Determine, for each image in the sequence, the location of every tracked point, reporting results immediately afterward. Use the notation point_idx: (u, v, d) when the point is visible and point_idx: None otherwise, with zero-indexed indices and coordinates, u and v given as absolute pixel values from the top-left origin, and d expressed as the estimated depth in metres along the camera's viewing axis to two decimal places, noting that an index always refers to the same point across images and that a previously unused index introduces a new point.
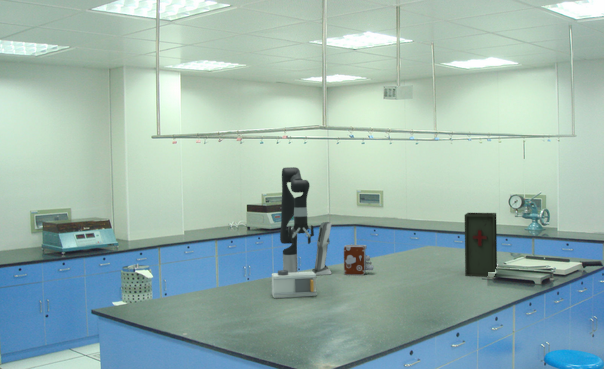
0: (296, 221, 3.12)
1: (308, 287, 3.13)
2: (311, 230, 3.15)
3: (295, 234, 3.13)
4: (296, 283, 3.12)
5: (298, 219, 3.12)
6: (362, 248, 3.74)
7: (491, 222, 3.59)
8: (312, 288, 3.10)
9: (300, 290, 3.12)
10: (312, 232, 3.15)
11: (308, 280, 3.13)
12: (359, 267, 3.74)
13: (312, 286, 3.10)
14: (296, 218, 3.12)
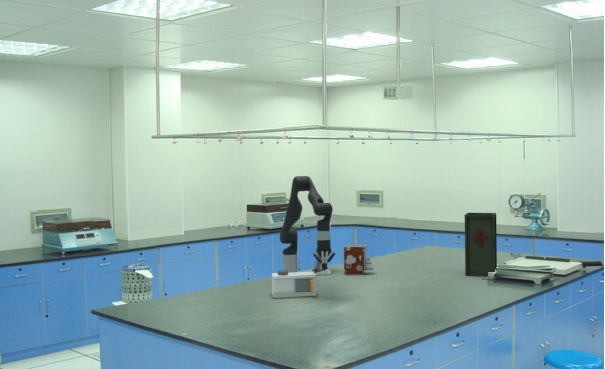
0: (319, 245, 3.08)
1: (308, 287, 3.13)
2: (331, 256, 3.11)
3: (323, 259, 3.10)
4: (296, 283, 3.12)
5: (321, 242, 3.08)
6: (362, 248, 3.74)
7: (491, 222, 3.59)
8: (312, 288, 3.10)
9: (300, 290, 3.12)
10: (330, 258, 3.11)
11: (308, 280, 3.13)
12: (359, 267, 3.74)
13: (312, 286, 3.10)
14: (319, 242, 3.08)
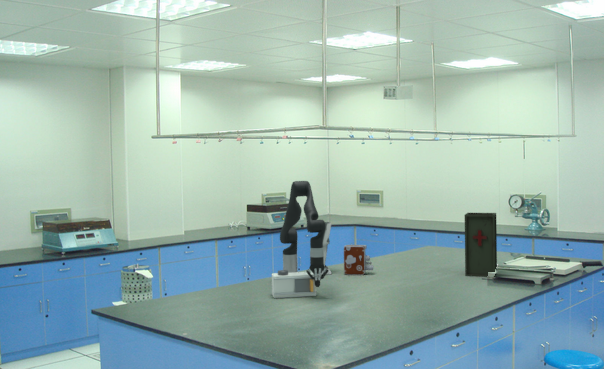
0: (312, 262, 3.08)
1: (308, 287, 3.13)
2: (324, 273, 3.10)
3: (316, 276, 3.09)
4: (296, 283, 3.12)
5: (314, 259, 3.07)
6: (362, 248, 3.74)
7: (491, 222, 3.59)
8: (312, 288, 3.10)
9: (300, 290, 3.12)
10: (323, 275, 3.10)
11: (308, 280, 3.13)
12: (359, 267, 3.74)
13: (312, 286, 3.09)
14: (312, 259, 3.08)
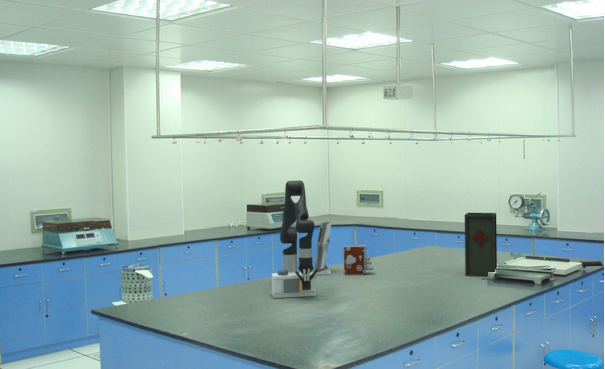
0: (301, 262, 3.07)
1: (297, 288, 3.12)
2: (313, 274, 3.09)
3: (305, 276, 3.08)
4: (284, 284, 3.11)
5: (303, 260, 3.06)
6: (362, 248, 3.74)
7: (491, 222, 3.59)
8: (300, 289, 3.09)
9: (289, 291, 3.11)
10: (312, 276, 3.09)
11: (297, 281, 3.12)
12: (359, 267, 3.74)
13: (300, 287, 3.08)
14: (301, 259, 3.07)
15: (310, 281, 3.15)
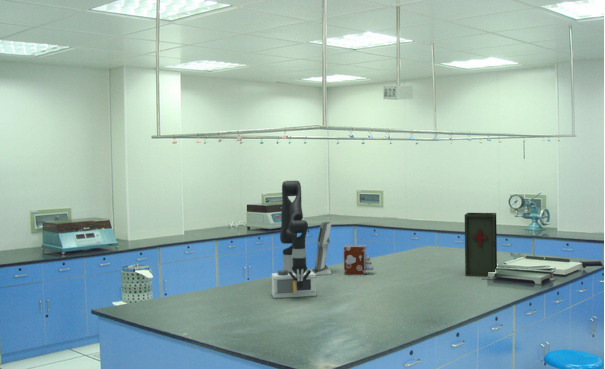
0: (294, 263, 3.06)
1: (290, 288, 3.12)
2: (306, 274, 3.09)
3: (298, 277, 3.08)
4: (278, 284, 3.10)
5: (296, 260, 3.06)
6: (362, 248, 3.74)
7: (491, 222, 3.59)
8: (294, 289, 3.08)
9: (282, 291, 3.11)
10: (306, 276, 3.09)
11: (290, 281, 3.12)
12: (359, 267, 3.74)
13: (294, 287, 3.08)
14: (294, 260, 3.06)
15: (310, 281, 3.15)
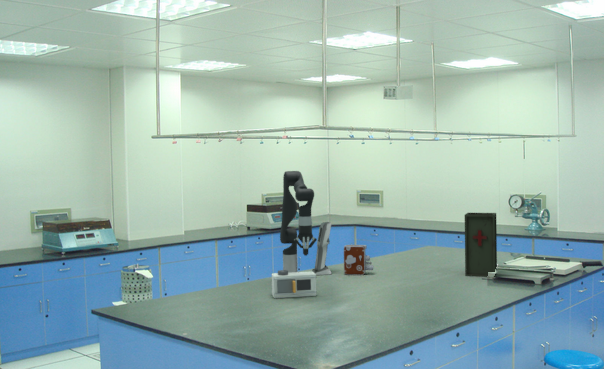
0: (300, 230, 3.09)
1: (290, 288, 3.12)
2: (312, 242, 3.11)
3: (304, 244, 3.10)
4: (278, 284, 3.10)
5: (302, 228, 3.08)
6: (362, 248, 3.74)
7: (491, 222, 3.59)
8: (294, 289, 3.08)
9: (282, 291, 3.11)
10: (311, 244, 3.11)
11: (290, 281, 3.12)
12: (359, 267, 3.74)
13: (294, 287, 3.08)
14: (300, 227, 3.09)
15: (310, 281, 3.15)
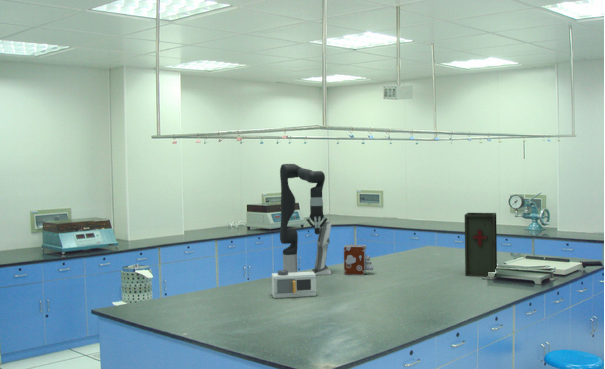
0: (312, 210, 3.27)
1: (290, 288, 3.12)
2: (323, 221, 3.29)
3: (316, 224, 3.28)
4: (278, 284, 3.10)
5: (314, 208, 3.26)
6: (362, 248, 3.74)
7: (491, 222, 3.59)
8: (294, 289, 3.08)
9: (282, 291, 3.11)
10: (323, 223, 3.29)
11: (290, 281, 3.12)
12: (359, 267, 3.74)
13: (294, 287, 3.08)
14: (312, 207, 3.27)
15: (310, 281, 3.15)
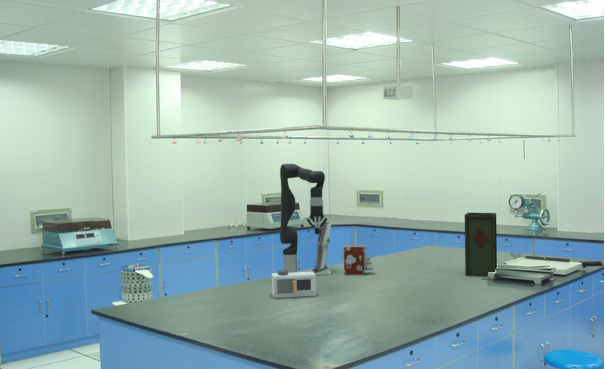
0: (312, 210, 3.27)
1: (290, 288, 3.12)
2: (323, 221, 3.29)
3: (316, 223, 3.28)
4: (278, 284, 3.10)
5: (314, 208, 3.26)
6: (362, 248, 3.74)
7: (491, 222, 3.59)
8: (294, 289, 3.08)
9: (282, 291, 3.11)
10: (323, 223, 3.29)
11: (290, 281, 3.12)
12: (359, 267, 3.74)
13: (294, 287, 3.08)
14: (312, 207, 3.27)
15: (310, 281, 3.15)
